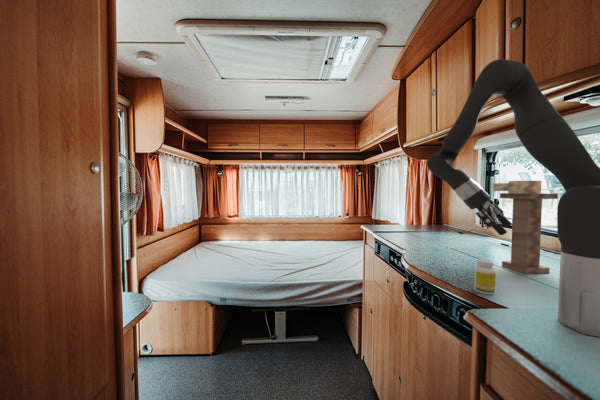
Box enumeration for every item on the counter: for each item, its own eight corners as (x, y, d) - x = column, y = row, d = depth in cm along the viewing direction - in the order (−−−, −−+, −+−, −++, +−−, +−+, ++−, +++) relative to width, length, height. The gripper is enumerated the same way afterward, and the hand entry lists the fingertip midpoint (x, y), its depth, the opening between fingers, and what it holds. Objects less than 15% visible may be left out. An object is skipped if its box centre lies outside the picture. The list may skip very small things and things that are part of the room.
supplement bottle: (498, 295, 73) (499, 264, 73) (478, 294, 75) (479, 262, 74) (488, 288, 79) (489, 259, 78) (470, 287, 80) (471, 258, 79)
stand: (527, 275, 91) (530, 193, 90) (497, 265, 103) (500, 193, 102) (554, 273, 93) (557, 193, 92) (522, 264, 105) (524, 193, 104)
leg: (502, 193, 93) (502, 180, 93) (490, 193, 98) (491, 181, 98) (540, 193, 95) (541, 180, 95) (527, 193, 100) (527, 181, 100)
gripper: (475, 192, 82) (514, 231, 77) (486, 183, 91) (521, 218, 86) (456, 204, 88) (491, 241, 83) (468, 195, 96) (500, 228, 91)
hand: (506, 229), depth 84 cm, fingers open, 8 cm apart
